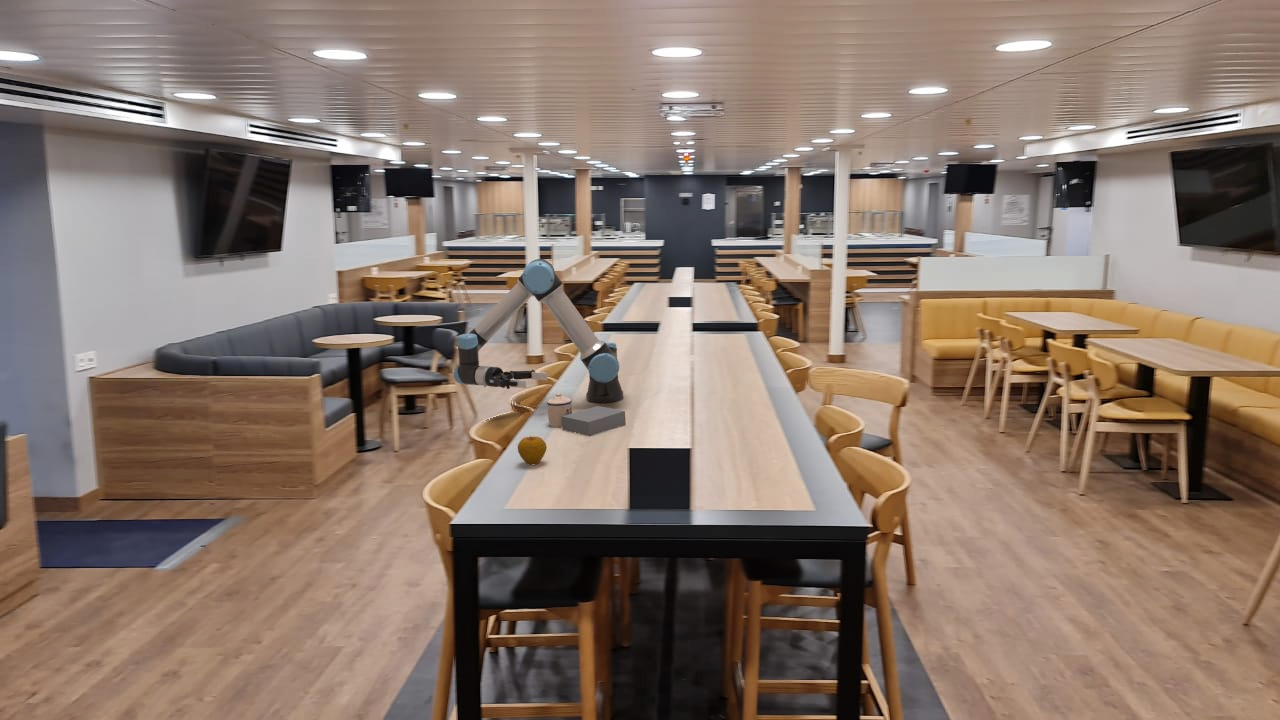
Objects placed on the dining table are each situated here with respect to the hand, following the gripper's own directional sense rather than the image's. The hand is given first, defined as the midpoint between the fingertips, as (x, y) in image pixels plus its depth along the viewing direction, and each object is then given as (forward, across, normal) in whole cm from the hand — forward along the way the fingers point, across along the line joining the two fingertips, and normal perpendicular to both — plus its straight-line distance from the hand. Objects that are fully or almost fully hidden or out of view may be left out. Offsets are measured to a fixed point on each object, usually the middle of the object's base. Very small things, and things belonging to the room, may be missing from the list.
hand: (536, 380), depth 325 cm
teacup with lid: (+10, 0, -16) cm, 19 cm away
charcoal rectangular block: (+24, 0, -15) cm, 29 cm away
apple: (+28, +44, -16) cm, 55 cm away
